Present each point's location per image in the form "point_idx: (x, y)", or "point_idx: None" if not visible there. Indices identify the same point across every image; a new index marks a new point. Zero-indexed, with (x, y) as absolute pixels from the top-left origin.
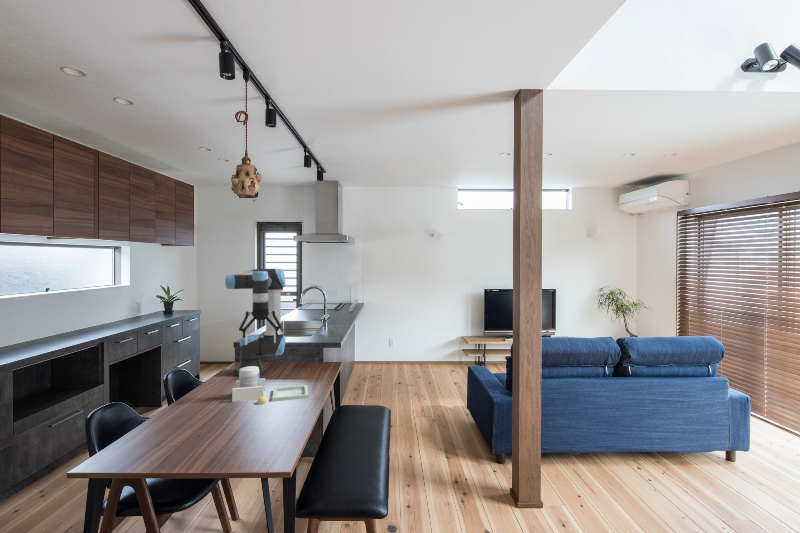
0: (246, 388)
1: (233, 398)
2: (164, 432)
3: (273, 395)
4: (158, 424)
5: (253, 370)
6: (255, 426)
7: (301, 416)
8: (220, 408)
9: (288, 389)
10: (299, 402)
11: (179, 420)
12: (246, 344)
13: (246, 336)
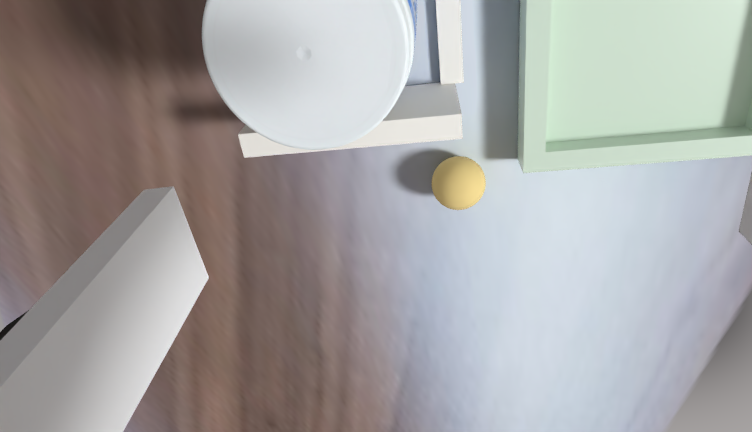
0: (341, 147)
1: None
2: None
3: (529, 118)
4: None
5: (369, 131)
6: (459, 398)
7: (657, 350)
8: (230, 180)
9: None
10: (686, 172)
11: None
12: (199, 283)
13: (127, 408)
